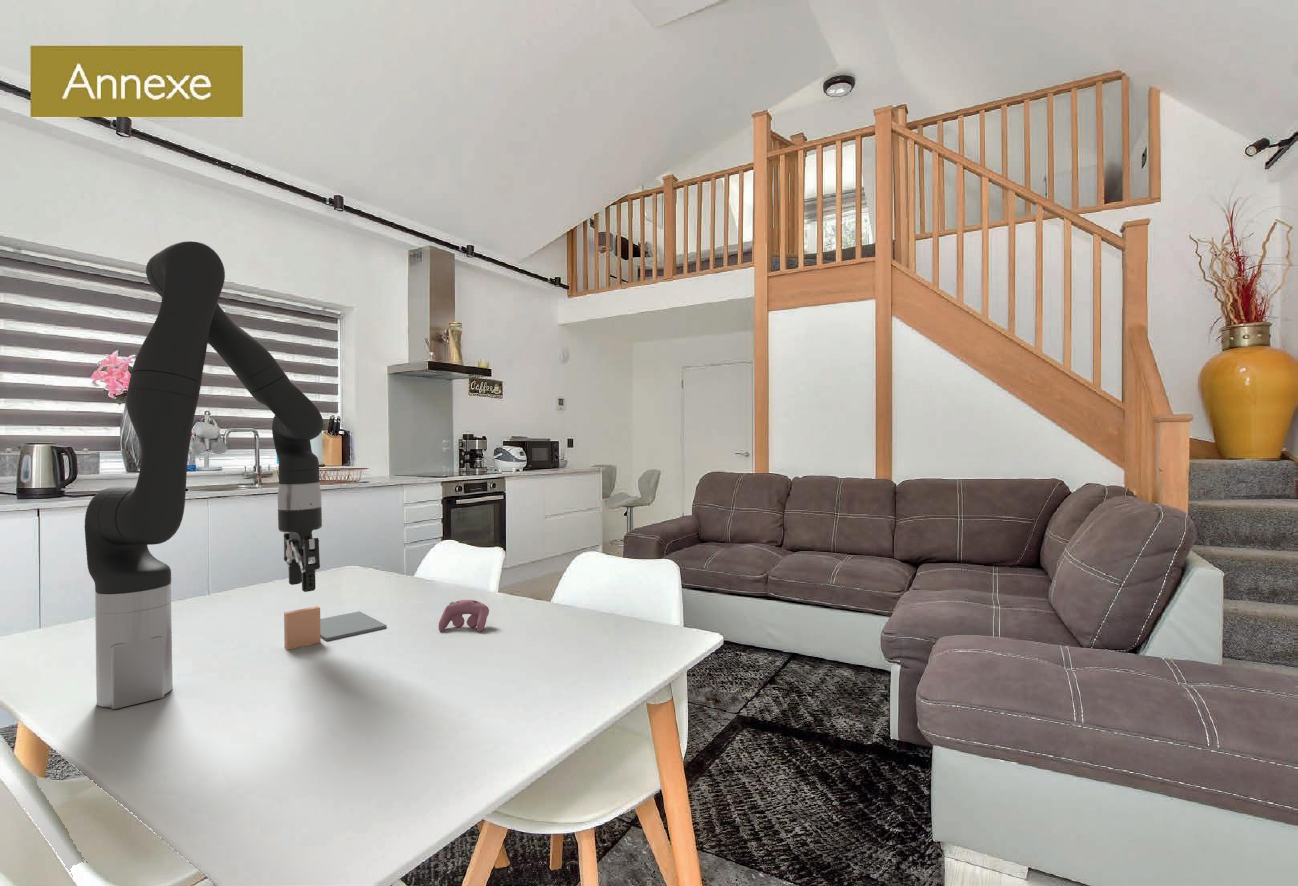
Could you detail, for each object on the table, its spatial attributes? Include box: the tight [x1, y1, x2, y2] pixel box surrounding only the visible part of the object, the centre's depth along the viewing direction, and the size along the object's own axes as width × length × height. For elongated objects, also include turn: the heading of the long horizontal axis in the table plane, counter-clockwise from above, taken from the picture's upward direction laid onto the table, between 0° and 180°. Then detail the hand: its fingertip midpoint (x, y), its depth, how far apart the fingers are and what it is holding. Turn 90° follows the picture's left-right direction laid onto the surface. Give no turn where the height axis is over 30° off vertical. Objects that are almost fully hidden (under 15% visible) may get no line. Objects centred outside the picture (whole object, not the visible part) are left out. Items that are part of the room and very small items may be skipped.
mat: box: [320, 611, 387, 642], centre depth 132 cm, size 16×12×1 cm
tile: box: [283, 605, 322, 651], centre depth 121 cm, size 2×6×7 cm, turn 135°
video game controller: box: [438, 599, 490, 633], centre depth 130 cm, size 10×5×7 cm, turn 85°
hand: (301, 587), depth 121 cm, fingers open, 8 cm apart
